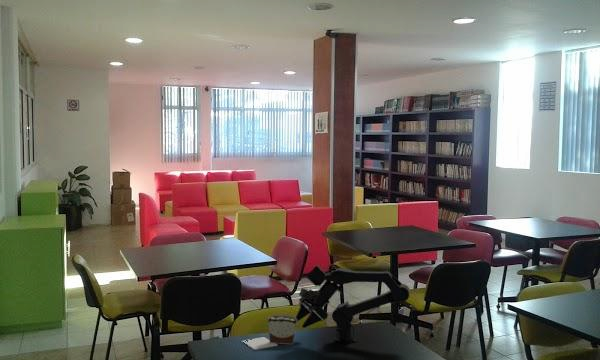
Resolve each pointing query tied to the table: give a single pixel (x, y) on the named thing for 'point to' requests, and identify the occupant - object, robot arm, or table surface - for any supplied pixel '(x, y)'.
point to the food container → (282, 329)
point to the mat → (259, 343)
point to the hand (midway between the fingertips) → (298, 324)
